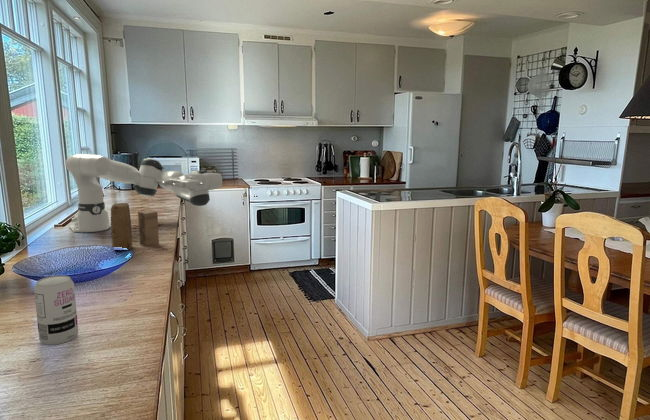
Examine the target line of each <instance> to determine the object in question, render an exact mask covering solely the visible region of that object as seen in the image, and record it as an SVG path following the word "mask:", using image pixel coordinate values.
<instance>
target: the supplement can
mask: <svg viewBox="0 0 650 420" xmlns="http://www.w3.org/2000/svg"><path fill="white" fill-rule="evenodd" d="M33 291H34V300H35V301H34V303H35V311H36V321H37V329H38V330H37V331H38V339H39V340H38V341H39V342H41V343H42V344H44V345H45V346H46V345H47V346H55V345H61V344H64V343H68V342H70V341H72V340H73V339H75V337H76V336H78V334H79V326H78V325H79V324H78V313H77V303H76V302H77V301H76V289H75V283H74V281H73V279H71V276H68V275H52V276H51V275H50V276H47V277H43V278H41V279H38V280H37V281H36V284H35V286H34V288H33Z"/></svg>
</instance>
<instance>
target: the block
mask: <svg viewBox="0 0 650 420" xmlns="http://www.w3.org/2000/svg"><path fill="white" fill-rule="evenodd" d="M131 219H132V218H131V212H130V205H129V203H128V202H124V203H123V202H120V203H114V204H112V205H111V208H110V224H111V227H110V232H111V242H112V243H111V245H112V248H113V247H122V248H127V249H130V250H132V248H133V237H132V234H133V233H132V220H131Z"/></svg>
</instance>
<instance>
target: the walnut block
mask: <svg viewBox="0 0 650 420" xmlns="http://www.w3.org/2000/svg"><path fill="white" fill-rule="evenodd" d="M137 214H138V233H139V234H138V235H139V244H140V245H142V246H144V247H150V246H155V245H159V244H160V240H159V239H160V238H159V237H160V236H159V221H158V219H159V218H158V211H154V210H152V209H151V210H142V211H138V212H137Z"/></svg>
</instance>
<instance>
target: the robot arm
mask: <svg viewBox="0 0 650 420" xmlns="http://www.w3.org/2000/svg"><path fill="white" fill-rule="evenodd" d="M65 167H66V169H67V171H68V172H70V174H71V175H72V178H73V179H74V181H75V184H76V188H77V192H78V196H77V197H78V204H77V210H78V211H77V212H76V213H75V214H74V216H73V217H72V218H71V222H72V223H74V224H70V225H69V228H70V229H71V231H72V232H73V233H93V232H103V231H106V230H108V229H111V223H110V219H109V218H110V217H109V213H108V211H107V210H106V203H105V201H104V190H103V186H102V185H101V184H100V183H99V181H98V180H97V178H100V179H103V180H106V181H109V182H110V181H111V182H116V183H119V184H133V185H134V186H132V187H133V189H135V192H137V193H136V194H138V195H140V196H142V197H143V198H149V197H151V198H152V197H154V196H155V195H156V193H157V191H158V189H157V188H158V186H159V187H161V188H163V189H164V190H167V191H172V192H173V194H175V196H176V197H177V198H179V199H181V200H183V201H185V202H188V203H190V204H191V205H193V206H196V207H203V206H207V204H208V203H209V202H210V201H211V199H210V198H211V197H210V192H209V191H212V190H218V189H221V188H222V187H223V183H224V181H223V179H224V178H223V176H222V174H221V173H218V172H208V171H207V170H205V169H202V170H192V171H191V172H190V173H189V174H184V173H183V172H181V171H178V170H169V171H167V170H166V171H165V170H164V168H165V167H164V166H162V164H161V163H160V161H159V160H156V159H154V158H152V157H147V158H143V159H142V160H141V162H140V167H139V170H138V169H137V167H135V166H132V165H131V164H127V163H125V162H121V161H117V160H113V159H111V158H108V157H107V156H103V155H100V154H91V153H90V154H88V153H75V154H72V155H69V156H68V157H67V158H66V161H65Z"/></svg>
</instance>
